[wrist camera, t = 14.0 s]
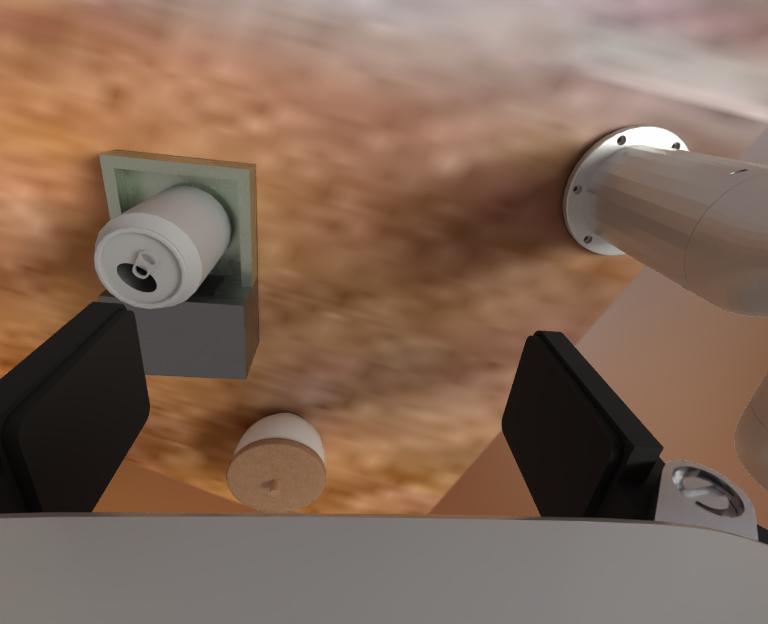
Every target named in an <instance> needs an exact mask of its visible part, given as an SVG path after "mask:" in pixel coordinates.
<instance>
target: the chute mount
mask: <svg viewBox="0 0 768 624" xmlns="http://www.w3.org/2000/svg"><path fill="white" fill-rule="evenodd" d="M99 158H100V164H101V169H102V175H103V181H104V187H105V192H106V198H107V204H108V210H109V215H110V220H112V219H113V218H115V217H117V216H119V215H120V214H122V213H124V212H126V211H128V210H129V209H131V208H133V207H135V206H136V205H138V204H140V203H142V202H144V201H145V200H147V199H149V198H151V197H152V196H154V195H156V194H158V193H160V192H162V191H164V190H166V189H168V188H170V187H175V186H189V187H194V188H199V189H200V190H202V191H204V192H206V193H208V194H210V195H211V196H213V197H214V198H215V199H216V200H217V201H218V202H219V203H220V204H221V205H222V207H223V208H224V210H225V212H226V213H227V215H228V217H229V221H230V225H231V241H230V243H229V245H228V247H227V249H226V251H225V252H224V254H223V255H222V256H221V258H220V259H219V260H218V262H217V263H216V265H215V266H214V267H213V269H212V270H211V271H210V273H209V274H208V275H207V277H206V278H205V279H204V281H203V282H202V283H201V285H200V286H199V288H198V289H197V290H196V291H195V292H194V293H193V294H192V295H191V296H190V297H189V298H188V299H187V300H186V301H184V302H182V303H179V304H177V305H175V306H171V307H163V308H155V309H145V308H139V307H134V306H132V305H129V304H127V303H124V302H122V301H120V300H119V299H118V298H116V297H115V296H114V295H112V294H111V293H110V292H109V291H108V290H107V289H106V290H105V291H104V292H103V293H102V294H101V295H99V301H100V302H106V303H121V304H124V305H125V307H126V308H127V310H131V311H133V312H134V314H135V318H136V324H137V330H138V336H139V342H140V348H141V354H142V360H143V366H144V373H145V375H162V376H184V377H205V378H227V379H246V378H247V376H248V373H249V370H250V367H251V364H252V361H253V358H254V355H255V352H256V349H257V347H258V344H259V308H258V253H257V199H256V164H248V163H238V162H229V161H219V160H210V159H200V158H191V157H181V156H172V155H162V154H153V153H143V152H134V151H124V150H113V151H109V152H105V153H102V154H99Z"/></svg>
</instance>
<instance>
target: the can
mask: <svg viewBox="0 0 768 624" xmlns="http://www.w3.org/2000/svg"><path fill="white" fill-rule="evenodd" d="M230 241H231V225H230V221H229V217H228V215H227V213H226V212H225V210H224V208H223V207H222V205H221V204H220V203H219V202H218V201H217V200H216V199H215V198H214V197H213V196H211V195H210V194H208V193H206V192H204V191H202V190H200V189H199V188H194V187H189V186H175V187H170V188H168V189H166V190H164V191H162V192H160V193H158V194H156V195H154V196H152V197H151V198H149V199H147V200H145V201H144V202H142V203H140V204H138V205H136V206H135V207H133V208H131V209H129V210H128V211H126V212H124V213H122V214H120V215H119V216H117V217H115V218H113V219H112V220H110V221H108V223H107V224H106V225H105V226H104V227H103V228H102V229H101V230H100V231H99V234H98V237H97V240H96V243H95V253H94V268H95V270H96V273H97V275H98V278H99V280H100V282H101V283H102V284H103V285H104V286H105V288H106V289H107V290H108V291H109V292H110V293H111V294H112V295H114V296H115V297H116V298H118V299H119V300H120V301H122V302H124V303H127V304H129V305H132V306H134V307H139V308H145V309H155V308H163V307H171V306H175V305H177V304H179V303H182V302H184V301H186V300H187V299H188V298H189V297H190V296H191V295H192V294H193V293H194V292H195V291H196V290H197V289H198V288H199V286H200V285H201V283H202V282H203V281H204V279H205V278H206V277H207V275H208V274H209V273H210V271H211V270H212V269H213V267H214V266H215V265H216V263H217V262H218V260H219V259H220V258H221V256H222V255H223V254H224V252H225V251H226V249H227V247H228V245H229V243H230Z"/></svg>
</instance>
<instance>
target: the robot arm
mask: <svg viewBox="0 0 768 624" xmlns="http://www.w3.org/2000/svg"><path fill="white" fill-rule="evenodd" d="M618 138H619V139H618ZM617 139H618V141H617ZM574 187H575V189H574ZM573 189H574V190H573ZM563 216H564V220H565V225H566V227H567V229H568V231H569V233H570V234H571V236H572V237H573V238H574V239H575V240H576V242H578V243H579V244H580V245H582V246H583V247H585V248H586V249H588V250H590V251H592V252H594V253H597V254H601V255H609V256H616V255H625V254H628V255H629V256H631V257H633V258H635V259H636V260H638V261H640V262H641V263H643V264H645V265H646V266H648V267H650V268H651V269H654V270H655V271H657V272H659V273H660V274H662V275H663V276H665V277H667V278H668V279H670V280H672V281H673V282H675V283H677V284H679V285H680V286H682V287H684V288H685V289H687V290H689V291H691V292H692V293H694V294H696V295H697V296H699V297H701V298H703V299H704V300H706V301H708V302H709V303H711V304H713V305H715V306H717V307H719V308H721V309H723V310H726V311H729V312H732V313H736V314H740V315H746V316H754V317H768V166H767V165H761V164H755V163H750V162H745V161H739V160H734V159H728V158H723V157H717V156H712V155H707V154H701V153H696V152H690V151H689V149H688V148H687V146H686V144H685V143H684V141H683V140H682V139H681V138H679V137H678V136H677V135H676V134H675V133H673V132H671V131H669V130H668V129H665V128H661V127H657V126H651V125H636V126H629V127H626V128H622V129H619V130H616V131H614V132H612V133H610V134H608V135H606V136H605V137H603V138H602V139H601V140H599V141H598V142H596V143H595V144H594V145H593V146H592V147H591V148H590V149H589V150H588V151H587V152H586V153H585V154H584V155H583V156H582V157H581V159H580V160H579V161H578V163H577V164H576V165H575V167H574V169H573V171H572V173H571V175H570V177H569V179H568V182H567V185H566V188H565V191H564V197H563ZM149 411H150V403H149V397H148V391H147V385H146V379H145V373H144V366H143V360H142V354H141V348H140V342H139V336H138V330H137V324H136V318H135V314H134V312H133V311H131V310H127V308H126V307H125V305H124V304H121V303H106V302H92V303H91V304H89V305H88V306H87V307H86V308H85V309H83V310H82V311H81V312H80V313H79V314H77V315H76V316H75V317H74V318H73V319H72V320H70V321H69V322H68V323H67V324H66V325H64V326H63V327H62V328H61V329H60V330H58V331H57V332H56V333H55V334H54V335H52V336H51V337H50V338H49V339H48V340H47V341H45V342H44V343H43V344H42V345H41V346H39V347H38V348H37V349H36V350H35V351H33V352H32V353H31V354H30V355H29V356H27V357H26V358H25V359H24V360H23V361H22V362H20V363H19V364H18V365H17V366H16V367H14V368H13V369H12V370H11V371H10V372H8V373H7V374H6V375H5V376H4V377H2V378H1V379H0V624H768V530H767V529H765V528H763V527H761V526H759V525H757V523H756V513H755V510H754V507H753V505H752V503H751V501H750V500H749V499H748V497H747V496H746V494H745V493H744V492H743V491H742V490H741V489H740V488H738V487H737V486H736V485H735V484H734V483H733V482H732V481H730V480H729V479H727V478H726V477H724V476H723V475H721V474H720V473H718V472H716V471H714V470H712V469H710V468H708V467H706V466H703V465H700V464H697V463H695V462H690V461H685V460H673V461H671V462H668V463H666V464H665V463H664V462H663V461H662V460H661V458H660V457H659V455H660V454H661V452H662V450H663V446H662V445H661V444H660V443H659V442H658V441H657V440H656V439H655V438H654V437H653V435H652V434H651V433H650V432H649V431H648V430H647V428H646V427H645V426H644V425H643V424H642V423H641V421H640V420H639V419H638V418H637V417H636V416H635V415H634V414H633V412H632V411H631V410H630V409H629V408H628V407H627V406H626V405H625V404H624V402H623V401H622V400H621V399H620V398H619V397H618V396H617V394H616V393H615V392H614V391H613V390H612V389H611V388H610V386H609V385H608V384H607V383H606V382H605V381H604V380H603V379H602V377H601V376H600V375H599V374H598V373H597V372H596V371H595V369H594V368H593V367H592V366H591V365H590V364H589V363H588V362H587V360H586V359H585V358H584V357H583V356H582V355H581V354H580V352H579V351H578V350H577V349H576V348H575V347H574V346H573V344H572V343H571V342H570V341H569V340H568V339H567V338H566V337H565V335H564V334H563V333H561V332H553V331H536V332H535V333H534V335H533V336H529V337H528V338H527V340H526V342H525V346H524V349H523V352H522V355H521V359H520V362H519V365H518V368H517V372H516V375H515V378H514V381H513V385H512V388H511V391H510V394H509V398H508V401H507V404H506V408H505V411H504V414H503V417H502V431H503V434H504V436H505V438H506V440H507V442H508V445H509V447H510V449H511V451H512V454H513V456H514V458H515V460H516V462H517V465H518V467H519V469H520V471H521V473H522V476H523V478H524V480H525V482H526V484H527V487H528V489H529V491H530V493H531V495H532V497H533V500H534V502H535V504H536V506H537V509H538V511H539V513H540V515H541V517H536V516H533V517H532V516H475V515H474V516H473V515H407V514H312V513H145V512H135V513H134V512H130V513H129V512H126V513H125V512H94V513H93V512H92V511H93V509H94V507H95V506H96V504H97V502H98V501H99V499H100V498H101V496H102V494H103V492H104V491H105V489H106V487H107V486H108V484H109V483H110V481H111V479H112V478H113V476H114V474H115V473H116V471H117V469H118V467H119V466H120V464H121V462H122V461H123V459H124V458H125V456H126V454H127V453H128V451H129V449H130V448H131V446H132V444H133V443H134V441H135V439H136V438H137V436H138V434H139V433H140V431H141V429H142V428H143V426H144V424H145V423H146V421H147V419H148V416H149ZM734 439H735V449H736V452H737V455H738V458H739V459H740V461H741V463H742V465H743V466H744V468H745V469H746V470H747V472H748V473H749V474H750V475H751V476H752V477H753V478H754V479H755V481H757V483H758V484H760V485H761V486H762V487H763V488H764V489H765V490H766V491H768V372H767V374H766V375H765V377H764V378H763V380H762V382H761V383H760V385H759V386H758V388H757V390H756V391H755V393H754V394H753V396H752V398H751V399H750V401H749V403H748V405H747V406H746V408H745V409H744V411H743V413H742V415H741V417H740V419H739V421H738V424H737V427H736V430H735V436H734Z"/></svg>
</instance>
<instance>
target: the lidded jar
mask: <svg viewBox="0 0 768 624" xmlns="http://www.w3.org/2000/svg"><path fill="white" fill-rule="evenodd" d="M226 479H227V484H228V487H229V489H230V491H231V492H232V494H233V495H234V496H235V497H236V498H237V499H238V500H239V501H240V502H241V503H243V504H245V505H246V506H248V507H250V508H253V509H255V510H259V511H263V512H268V513H285V512H291V511H295V510H299V509H301V508H304V507H305V506H307V505H309V504H311V503H312V502H313V501H314V500H316V499H317V498H318V497H319V495H320V494H321V492H322V491H323V489H324V486H325V481H326V470H325V452H324V447H323V443H322V440H321V438H320V436H319V434H318V432H317V431H316V429H315V428H314V427H313V426H312V425H311V424H310V423H309V422H307V421H306V420H304V419H302V418H301V417H299V416H298V415H295V414H291V413H277V414H274V415H270V416H267V417H264V418H262V419H260V420H259V421H257V422H255V423H254V424H253V425H252V426H251V427H250V428H249V429H248V430H247V431H246V432H245V433H244V435H243V436H242V438H241V439H240V441H239V443H238V445H237V447H236V449H235V452H234V455H233V458H232V460H231V461H230V464H229V467H228V470H227V478H226Z"/></svg>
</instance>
